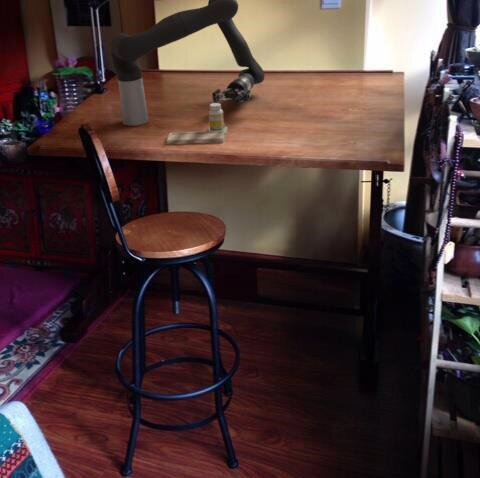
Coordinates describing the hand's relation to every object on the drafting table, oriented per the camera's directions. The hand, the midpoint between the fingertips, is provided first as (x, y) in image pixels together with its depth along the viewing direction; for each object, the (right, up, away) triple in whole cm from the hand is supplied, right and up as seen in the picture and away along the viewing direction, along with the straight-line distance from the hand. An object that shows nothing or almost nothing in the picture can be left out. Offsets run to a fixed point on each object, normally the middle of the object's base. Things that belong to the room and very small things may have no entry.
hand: (225, 101), depth 234 cm
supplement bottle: (-3, -12, -4) cm, 13 cm away
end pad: (-3, -12, -4) cm, 13 cm away
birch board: (-10, -16, -11) cm, 22 cm away
